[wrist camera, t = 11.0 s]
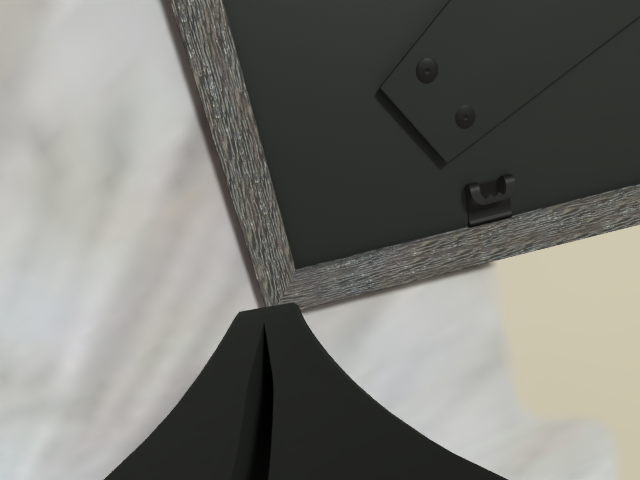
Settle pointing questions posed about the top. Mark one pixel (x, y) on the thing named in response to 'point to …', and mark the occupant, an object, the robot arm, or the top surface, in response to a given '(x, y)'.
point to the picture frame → (416, 132)
